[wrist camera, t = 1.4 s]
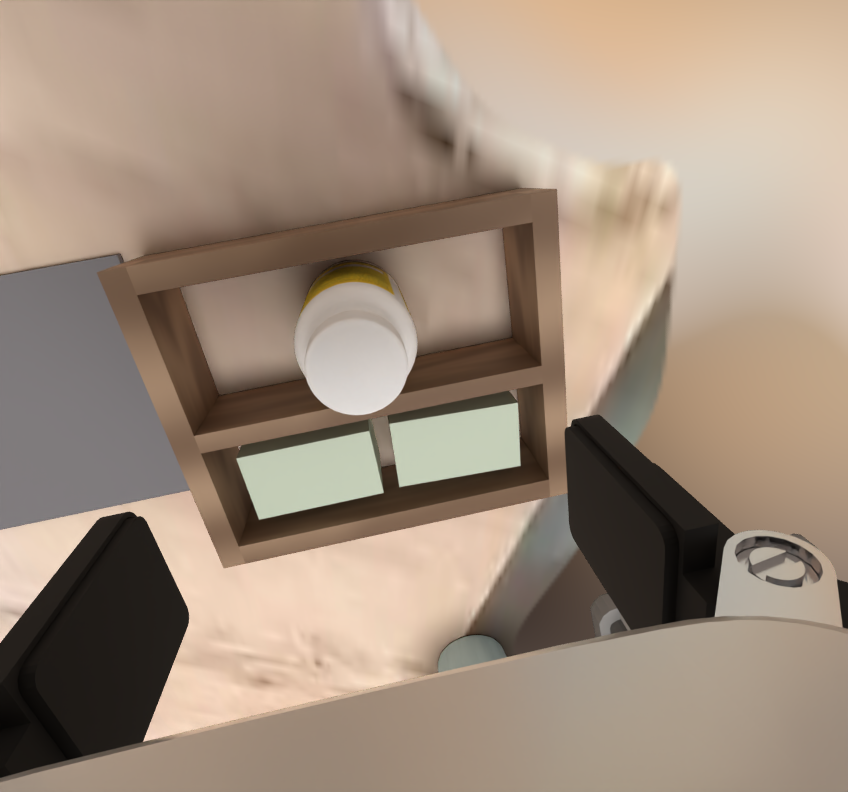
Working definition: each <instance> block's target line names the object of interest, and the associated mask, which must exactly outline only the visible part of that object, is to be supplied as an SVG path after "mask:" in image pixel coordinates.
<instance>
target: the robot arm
mask: <svg viewBox="0 0 848 792" xmlns="http://www.w3.org/2000/svg"><path fill="white" fill-rule="evenodd" d="M564 436H565V454H566V473H567V491H568V509H569V525H570V530H571V534H572V536H573V539H574V540H575V542H576V544H577V545H578V547H579V548H580V550H581V552H582V553H583V555H584V556H585V558H586V560H587V561H588V563H589V564H590V566H591V568H592V569H593V571H594V572H595V574H596V575H597V577H598V579H599V580H600V582H601V583H602V585H603V587H604V588H605V590H606V591H607V593H608V595H609V596H610V598H611V599H612V601H613V602H614V604H615V606H616V607H617V609H618V610H619V612H620V614H621V615H622V617H623V618H624V620H625V622H626V623H627V625H628V626H629V628H630V629H631V630H629V631H624V632H618V633H614V634H609V635H605V636H600V637H596V638H592V639H587V640H582V641H579V642H573V643H568V644H563V645H559V646H554V647H550V648H545V649H541V650H537V651H532V652H528V653H523V654H519V655H514V656H510V657H505V658H501V659H497V660H492V661H488V662H483V663H479V664H475V665H470V666H466V667H461V668H457V669H453V670H448V671H444V672H439V673H435V674H430V675H426V676H422V677H417V678H413V679H409V680H404V681H400V682H396V683H391V684H387V685H383V686H378V687H374V688H370V689H366V690H361V691H357V692H353V693H348V694H344V695H340V696H335V697H331V698H327V699H323V700H318V701H314V702H310V703H305V704H301V705H297V706H293V707H288V708H284V709H280V710H275V711H271V712H267V713H263V714H258V715H254V716H250V717H246V718H241V719H237V720H233V721H229V722H225V723H221V724H216V725H212V726H208V727H204V728H200V729H195V730H191V731H187V732H183V733H179V734H175V735H170V736H166V737H162V738H158V739H154V740H149V741H145V742H143V740H144V737H145V735H146V732H147V730H148V727H149V725H150V722H151V719H152V717H153V714H154V712H155V709H156V707H157V704H158V701H159V699H160V696H161V694H162V691H163V688H164V686H165V683H166V681H167V678H168V676H169V673H170V670H171V668H172V665H173V663H174V660H175V658H176V655H177V652H178V650H179V647H180V645H181V642H182V640H183V637H184V634H185V632H186V629H187V627H188V623H189V612H188V608H187V606H186V604H185V602H184V600H183V597H182V595H181V593H180V591H179V589H178V587H177V585H176V583H175V581H174V579H173V576H172V574H171V572H170V570H169V568H168V566H167V564H166V562H165V560H164V557H163V555H162V553H161V551H160V549H159V547H158V545H157V543H156V541H155V539H154V536H153V534H152V532H151V530H150V528H149V526H148V524H147V522H146V520H145V519H144V518H143V517H140V516H139V517H137V516H136V515H135V514H134V513H132V512H126V513H121V514H116V515H111V516H106V517H102V518H100V519H99V520H97V521H96V523H95V524H94V525H93V527H92V528H91V529H90V530H89V532H88V533H87V534H86V535H85V537H84V538H83V539H82V540H81V542H80V543H79V544H78V546H77V547H76V548H75V549H74V551H73V552H72V553H71V554H70V556H69V557H68V558H67V559H66V561H65V562H64V563H63V564H62V566H61V567H60V568H59V570H58V571H57V572H56V573H55V575H54V576H53V577H52V578H51V580H50V581H49V582H48V583H47V585H46V586H45V587H44V589H43V590H42V591H41V592H40V594H39V595H38V596H37V597H36V599H35V600H34V601H33V602H32V604H31V605H30V606H29V607H28V609H27V610H26V611H25V613H24V614H23V615H22V616H21V618H20V619H19V620H18V621H17V623H16V624H15V625H14V626H13V628H12V629H11V630H10V632H9V633H8V634H7V635H6V637H5V638H4V639H3V640H2V642H1V643H0V792H848V583H847V582H844V581H840V580H837V578H836V572H835V569H834V567H833V564H832V563H831V561H830V560H829V559H828V558H827V557H826V556H825V555H824V554H823V552H821V551H820V550H818V549H817V548H815V547H814V546H812V545H811V544H809V543H807V542H805V541H803V540H801V539H798V538H796V537H794V536H791V535H787V534H783V533H780V532H775V531H766V530H750V531H744V532H741V533H738V534H734V533H733V532H732V531H730V530H729V529H728V528H727V527H726V526H725V525H724V524H723V523H722V522H720V521H719V520H718V519H717V518H716V517H715V516H714V515H713V514H712V513H710V512H709V511H708V510H707V509H706V508H705V507H704V506H703V505H702V504H700V503H699V502H698V501H697V500H696V499H695V498H694V497H693V496H692V495H690V494H689V493H688V492H687V491H686V490H685V489H684V488H682V486H680V485H679V484H678V483H677V482H676V481H675V480H674V479H673V478H671V477H670V476H669V475H668V474H667V473H666V472H665V471H664V470H663V469H661V468H660V467H659V466H658V465H656V464H655V463H652V462H651V461H650V460H649V459H647V458H646V457H645V456H644V455H643V454H642V453H641V452H640V451H639V450H638V449H637V448H636V447H634V446H633V445H632V444H631V443H630V442H629V441H628V440H627V439H626V438H625V437H623V436H622V435H621V434H620V433H619V432H618V431H617V430H616V429H615V428H614V427H612V426H611V425H610V424H609V423H608V422H607V421H606V420H605V419H604V418H603V417H601V416H600V415H593V416H589V417H584V418H579V419H574V420H573V421H572V424H571V427H567V428H566V429H565V433H564Z"/></svg>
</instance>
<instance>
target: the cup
mask: <svg viewBox="0 0 848 792" xmlns="http://www.w3.org/2000/svg"><path fill="white" fill-rule="evenodd" d="M505 657H507V656H506V654H505V652H504V650H503V648H502V646H501V645H500V644H499V643H498V642H497V641H496V640H494V639H493V638H491V637H488V636H483V635H471V636H466V637H463V638H460V639H458V640H456V641H454V642H452V643H451V644H449V645H448V646H447V647H446V648H445V649H444V650H443V652H442V653H441V655H440V658H439V661H438V673H439V672H444V671H448V670H453V669H457V668H461V667H466V666H470V665H475V664H479V663H483V662H488V661H492V660H497V659H501V658H505Z"/></svg>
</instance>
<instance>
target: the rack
mask: <svg viewBox="0 0 848 792" xmlns="http://www.w3.org/2000/svg"><path fill="white" fill-rule="evenodd" d="M499 228H503V237H504V248H505V260H506V271H507V282H508V293H509V305H510V316H511V327H512V338H509V339H504V340H499V341H494V342H489V343H483V344H478V345H473V346H468V347H463V348H458V349H453V350H448V351H443V352H438V353H433V354H428V355H423V356H418V357H416V358H415V362H414V365H413V367H412V369H411V371H410V373H409V374H408V376H407V379H406V382H405V385H404V387H403V389H402V391H401V392H400V394H399V395H398V396H397V397H396V398H395V400H394V401H392V402H391V403H390V404H389V405H388V406H386V407H384V408H383V409H381V410H378V411H376V412H373V413H370V414H365V415H348V414H343V413H340V412H337V411H334V410H332V409H330V408H329V407H327V406H325V405H324V404H323V403H322V402H321V401H320V400H319V399H318V398H317V397H316V396H315V395H314V394H313V392H312V391H311V389H310V387H309V385H308V383H307V380H306V379H302V380H297V381H292V382H287V383H282V384H277V385H272V386H267V387H262V388H257V389H251V390H246V391H241V392H236V393H231V394H226V395H221V396H219V395H218V392H217V389H216V386H215V384H214V381H213V378H212V376H211V373H210V370H209V367H208V365H207V362H206V359H205V356H204V354H203V351H202V348H201V346H200V343H199V340H198V337H197V335H196V332H195V329H194V326H193V324H192V321H191V318H190V315H189V313H188V310H187V307H186V305H185V302H184V299H183V296H182V294H181V291H180V288H179V287H184V286H189V285H195V284H200V283H206V282H211V281H217V280H222V279H227V278H233V277H238V276H244V275H249V274H255V273H260V272H265V271H271V270H276V269H282V268H287V267H292V266H298V265H303V264H309V263H314V262H320V261H325V260H330V259H336V258H341V257H347V256H352V255H358V254H363V253H368V252H374V251H379V250H385V249H390V248H396V247H401V246H406V245H412V244H417V243H423V242H428V241H433V240H439V239H444V238H450V237H455V236H461V235H466V234H471V233H477V232H482V231H488V230H493V229H499ZM96 273H97V275H98V277H99V280H100V282H101V284H102V286H103V289H104V291H105V293H106V296H107V298H108V300H109V303H110V305H111V307H112V310H113V312H114V314H115V317H116V319H117V321H118V324H119V326H120V328H121V331H122V333H123V335H124V338H125V340H126V342H127V345H128V347H129V349H130V352H131V354H132V356H133V359H134V361H135V363H136V365H137V368H138V370H139V372H140V375H141V377H142V379H143V382H144V384H145V386H146V389H147V391H148V393H149V396H150V398H151V400H152V403H153V405H154V407H155V410H156V412H157V414H158V417H159V419H160V421H161V424H162V426H163V428H164V431H165V433H166V435H167V437H168V440H169V442H170V444H171V447H172V449H173V451H174V454H175V456H176V458H177V461H178V463H179V465H180V468H181V470H182V472H183V475H184V477H185V479H186V482H187V484H188V486H189V489H190V491H191V493H192V496H193V498H194V500H195V503H196V505H197V507H198V509H199V512H200V514H201V516H202V519H203V521H204V523H205V526H206V528H207V530H208V533H209V535H210V537H211V540H212V542H213V544H214V547H215V549H216V551H217V554H218V556H219V558H220V561H221V563H222V565H223V568H228V567H232V566H237V565H241V564H246V563H250V562H255V561H260V560H264V559H269V558H273V557H278V556H282V555H287V554H292V553H296V552H301V551H305V550H310V549H314V548H319V547H324V546H328V545H333V544H337V543H342V542H346V541H351V540H355V539H360V538H365V537H369V536H374V535H378V534H383V533H387V532H392V531H397V530H401V529H406V528H410V527H415V526H419V525H424V524H429V523H433V522H438V521H442V520H447V519H451V518H456V517H460V516H465V515H470V514H474V513H479V512H483V511H488V510H492V509H497V508H502V507H506V506H511V505H515V504H520V503H524V502H529V501H534V500H538V499H543V498H547V497H552V496H556V495H561V494H566V493H568V491H567V473H566V454H565V436H564V433H565V429H566V428H567V409H566V386H565V363H564V341H563V318H562V295H561V272H560V249H559V227H558V204H557V189H533V188H520V189H514V190H509V191H503V192H497V193H492V194H486V195H481V196H475V197H470V198H464V199H459V200H453V201H447V202H442V203H436V204H431V205H425V206H420V207H414V208H408V209H403V210H397V211H392V212H386V213H381V214H375V215H370V216H364V217H358V218H353V219H347V220H342V221H336V222H331V223H325V224H320V225H314V226H308V227H303V228H297V229H292V230H286V231H281V232H275V233H270V234H264V235H258V236H253V237H247V238H242V239H236V240H231V241H225V242H219V243H214V244H208V245H203V246H197V247H192V248H186V249H181V250H175V251H169V252H164V253H158V254H153V255H147V256H142V257H139V258H136V259H133V260H131V261H128V262H125V263H122V264H119V265H116V266H113V267H110V268H108V269H105V270H102V271H99V272H96ZM514 389H517V395H518V406H519V417H520V429H521V438H520V439H519V440H520V465H521V466H517V467H511V468H505V469H500V470H494V471H488V472H483V473H477V474H471V475H466V476H460V477H454V478H449V479H443V480H437V481H431V482H426V483H420V484H414V485H409V486H403V487H399V481H398V475H397V469H396V465H392V466H387V467H382V468H381V472H382V481H383V491H384V493H381V494H376V495H372V496H367V497H362V498H358V499H353V500H348V501H344V502H339V503H335V504H330V505H325V506H321V507H316V508H311V509H307V510H302V511H297V512H293V513H288V514H283V515H279V516H274V517H269V518H265V519H260V520H259V518H258V515H257V513H256V510H255V507H254V505H253V502H252V499H251V497H250V494H249V491H248V489H247V486H246V483H245V481H244V478H243V475H242V473H241V470H240V467H239V465H238V462H237V459H236V458H237V455H238V453H239V449H238V447H237V446H240V445H245V444H250V443H255V442H260V441H265V440H270V439H275V438H279V437H284V436H289V435H294V434H299V433H304V432H309V431H314V430H318V429H323V428H328V427H333V426H338V425H343V424H348V423H353V422H358V421H362V420H367V419H372V418H377V417H382V416H387V415H392V414H397V413H402V412H406V411H411V410H416V409H421V408H426V407H431V406H436V405H441V404H445V403H450V402H455V401H460V400H465V399H470V398H475V397H480V396H485V395H489V394H494V393H499V392H504V391H509V390H514Z"/></svg>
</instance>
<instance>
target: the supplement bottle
mask: <svg viewBox="0 0 848 792" xmlns="http://www.w3.org/2000/svg"><path fill="white" fill-rule="evenodd" d="M294 350H295V355H296V359H297V362H298V364H299V367H300V369H301V371H302V372H303V374H304V375H305V377H306V380H307V383H308V385H309V387H310V389H311V391H312V392H313V394H314V395H315V396H316V397H317V398H318V399H319V400H320V401H321V402H322V403H323V404H324V405H325V406H327V407H329V408H330V409H332V410H334V411H337V412H340V413H343V414H348V415H365V414H370V413H373V412H376V411H378V410H381V409H383V408H384V407H386V406H388V405H389V404H390V403H391V402H392V401H394V400H395V398H396V397H397V396H398V395H399V394H400V392H401V391H402V389H403V387H404V385H405V382H406V379H407V376H408V374H409V373H410V371H411V369H412V367H413V365H414V362H415V358H416V354H417V333H416V329H415V325H414V322H413V319H412V317H411V314H410V312H409V310H408V308H407V305H406V303H405V300H404V298H403V295H402V293H401V291H400V289H399V287H398V285H397V284H396V282H395V281H394V279H393V278H392V277H391V276H390V275H389V274H388V273H387V272H386V271H384V270H383V269H381V268H380V267H378V266H376V265H374V264H372V263H369V262H365V261H358V260H350V261H344V262H340V263H337V264H334V265H332V266H330V267H329V268H327V269H326V270H324V271H323V272H322V273H321V274H320V275H319V276H318V277H317V278H316V280H315V281H314V282H313V284H312V285H311V287H310V289H309V291H308V294H307V297H306V299H305V302H304V305H303V307H302V310H301V313H300V315H299V318H298V321H297V324H296V327H295V334H294Z"/></svg>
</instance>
